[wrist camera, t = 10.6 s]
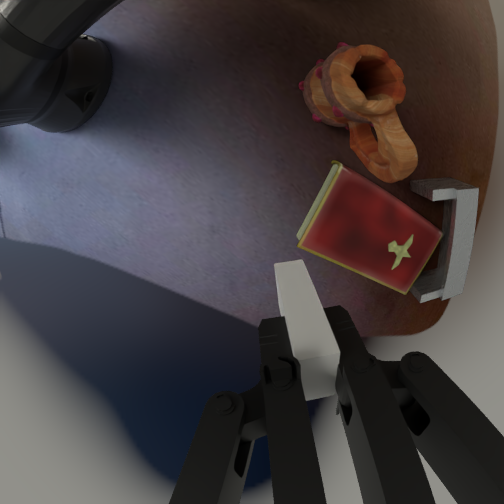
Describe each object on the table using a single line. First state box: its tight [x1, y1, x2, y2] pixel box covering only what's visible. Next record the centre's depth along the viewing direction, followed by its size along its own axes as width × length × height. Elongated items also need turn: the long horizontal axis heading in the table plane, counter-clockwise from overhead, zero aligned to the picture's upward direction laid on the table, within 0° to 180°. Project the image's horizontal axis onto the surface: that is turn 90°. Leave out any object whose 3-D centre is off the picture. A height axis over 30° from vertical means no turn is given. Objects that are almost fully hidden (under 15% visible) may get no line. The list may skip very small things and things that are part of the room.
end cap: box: [410, 177, 479, 303], centre depth 35 cm, size 9×18×7 cm, turn 10°
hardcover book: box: [297, 160, 443, 295], centre depth 36 cm, size 12×21×4 cm, turn 66°
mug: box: [299, 42, 418, 183], centre depth 24 cm, size 15×8×15 cm, turn 23°
